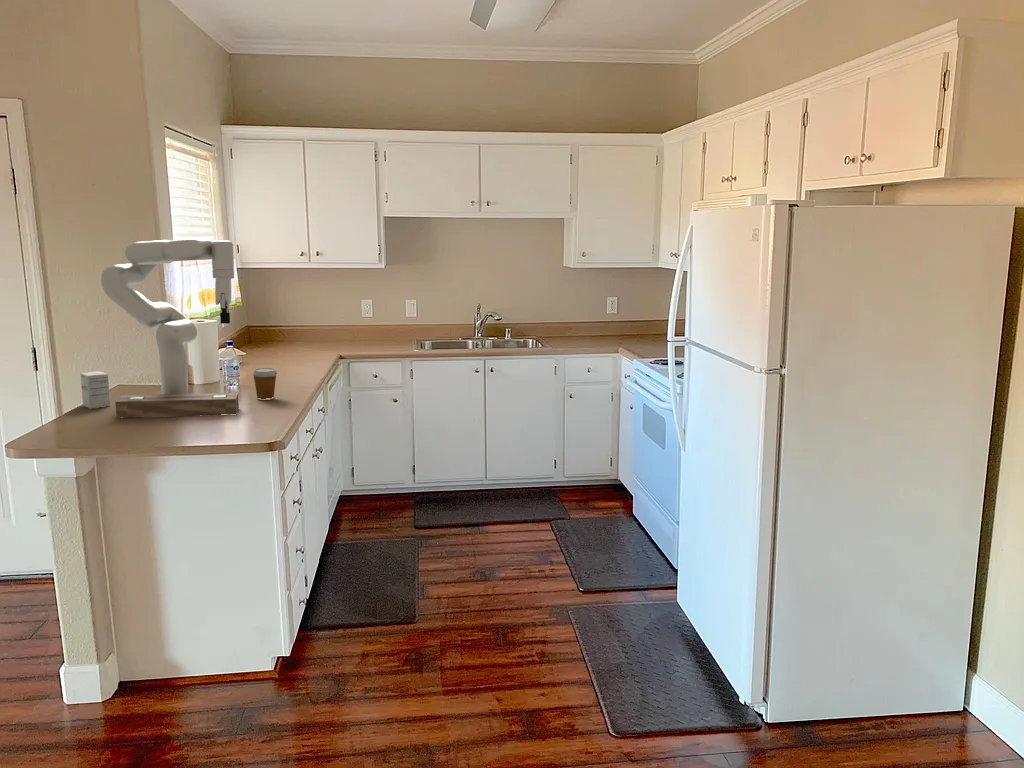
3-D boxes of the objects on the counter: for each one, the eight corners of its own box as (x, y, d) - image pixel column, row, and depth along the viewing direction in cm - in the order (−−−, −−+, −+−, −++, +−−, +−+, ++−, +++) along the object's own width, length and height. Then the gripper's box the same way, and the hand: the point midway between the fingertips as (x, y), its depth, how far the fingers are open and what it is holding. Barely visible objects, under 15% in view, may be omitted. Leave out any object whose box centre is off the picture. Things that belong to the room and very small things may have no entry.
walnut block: (123, 411, 278) (122, 395, 277) (238, 408, 289) (238, 392, 288) (116, 418, 268) (115, 401, 267) (236, 414, 278) (235, 399, 277)
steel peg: (132, 411, 276) (131, 396, 275) (145, 411, 277) (144, 396, 276) (130, 414, 272) (129, 399, 271) (143, 413, 273) (142, 398, 272)
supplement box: (82, 405, 285) (79, 372, 282) (103, 403, 290) (101, 370, 288) (89, 409, 280) (86, 375, 277) (110, 406, 285) (108, 373, 283)
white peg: (214, 409, 283) (214, 395, 282) (226, 409, 284) (226, 394, 283) (213, 412, 279) (213, 397, 278) (225, 411, 280) (225, 397, 279)
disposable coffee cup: (270, 402, 301) (269, 372, 299) (248, 400, 303) (247, 370, 300) (282, 397, 310) (281, 368, 308) (260, 395, 312) (260, 367, 310)
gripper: (214, 272, 288) (216, 321, 292) (210, 275, 274) (212, 325, 277) (235, 273, 290) (237, 321, 294) (232, 275, 276) (234, 325, 279)
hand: (225, 323), depth 286 cm, fingers closed
